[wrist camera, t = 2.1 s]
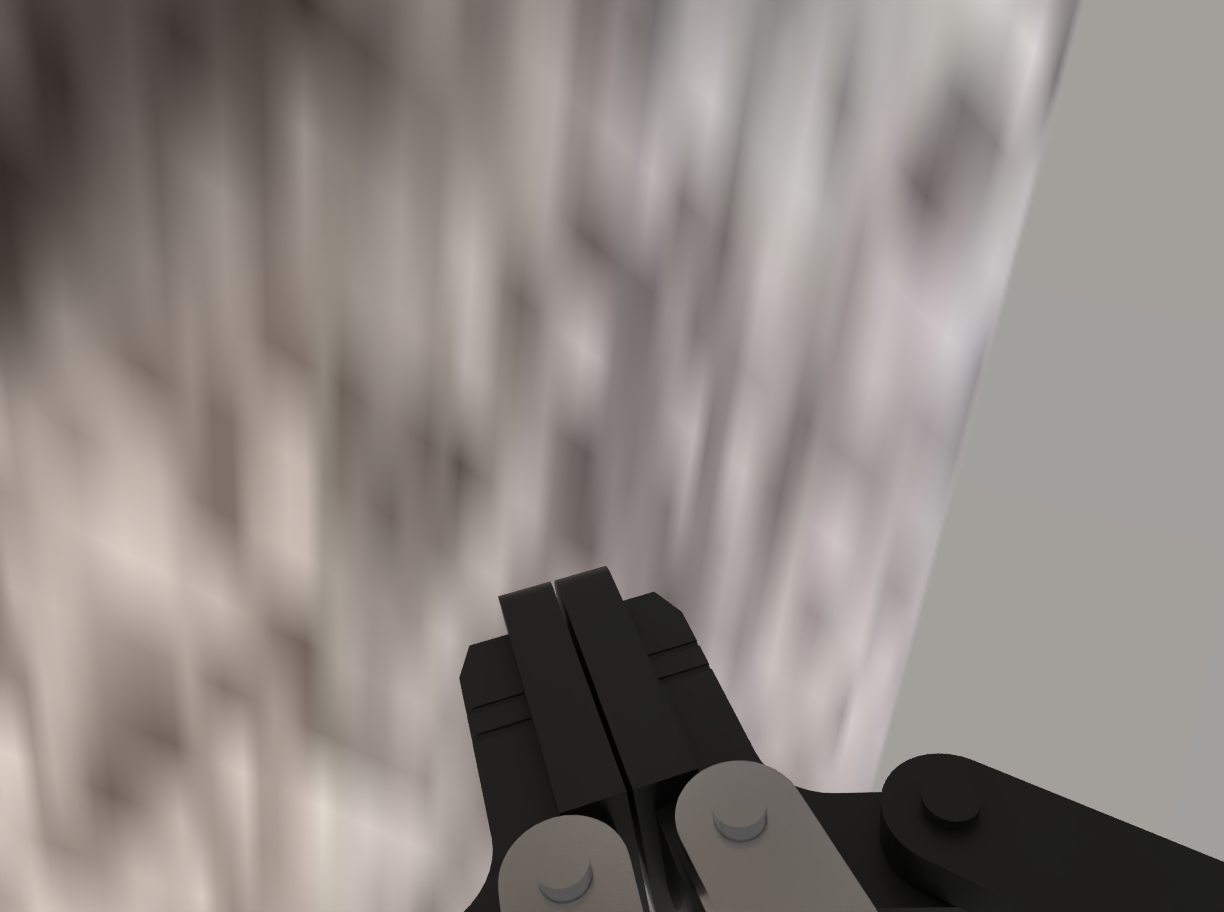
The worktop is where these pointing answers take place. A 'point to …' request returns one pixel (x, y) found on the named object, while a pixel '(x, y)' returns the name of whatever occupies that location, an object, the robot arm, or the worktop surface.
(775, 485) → the worktop surface
